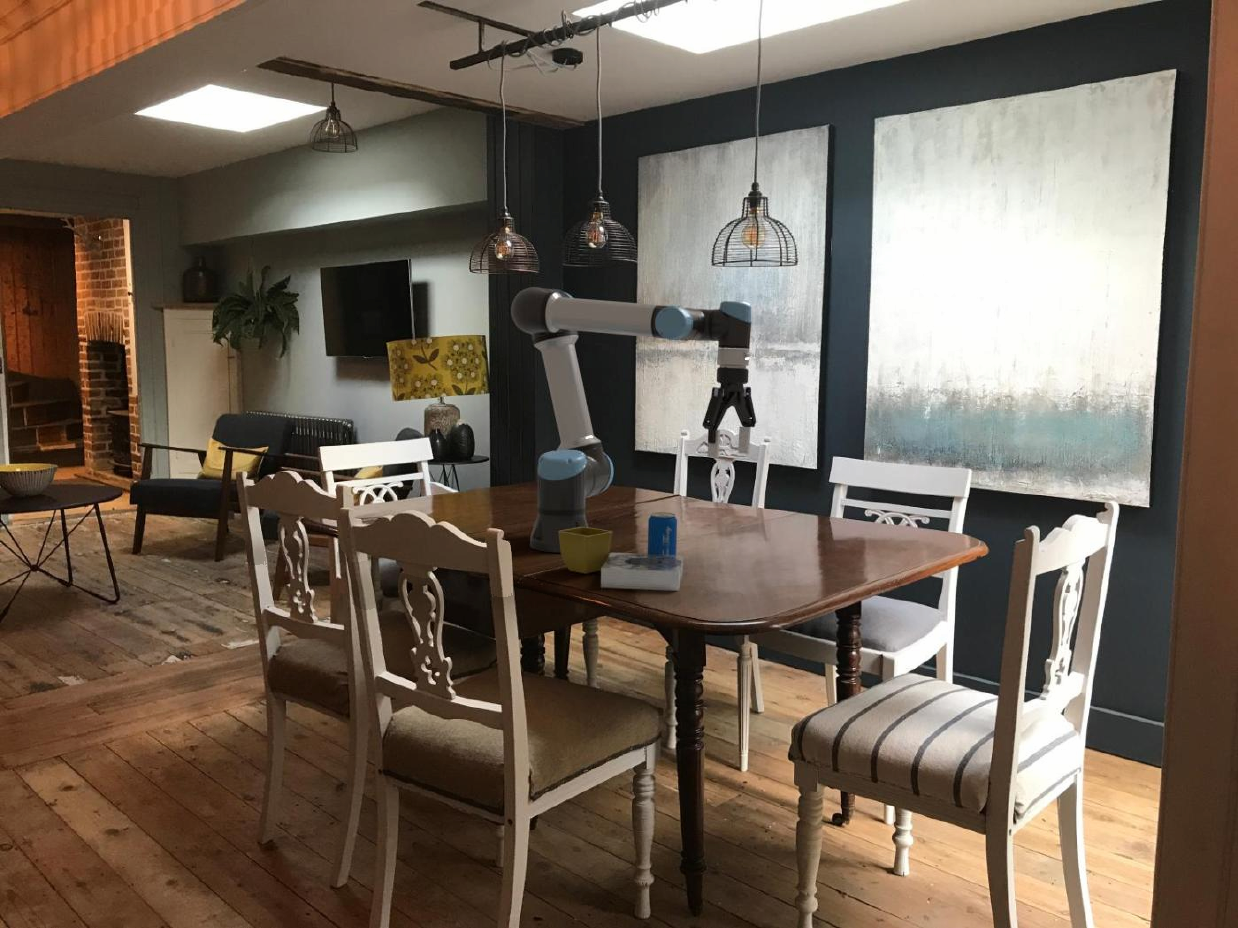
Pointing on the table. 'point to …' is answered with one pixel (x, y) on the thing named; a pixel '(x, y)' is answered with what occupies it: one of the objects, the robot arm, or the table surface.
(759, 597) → the table surface
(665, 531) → the beverage can
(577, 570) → the flower pot
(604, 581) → the jig
